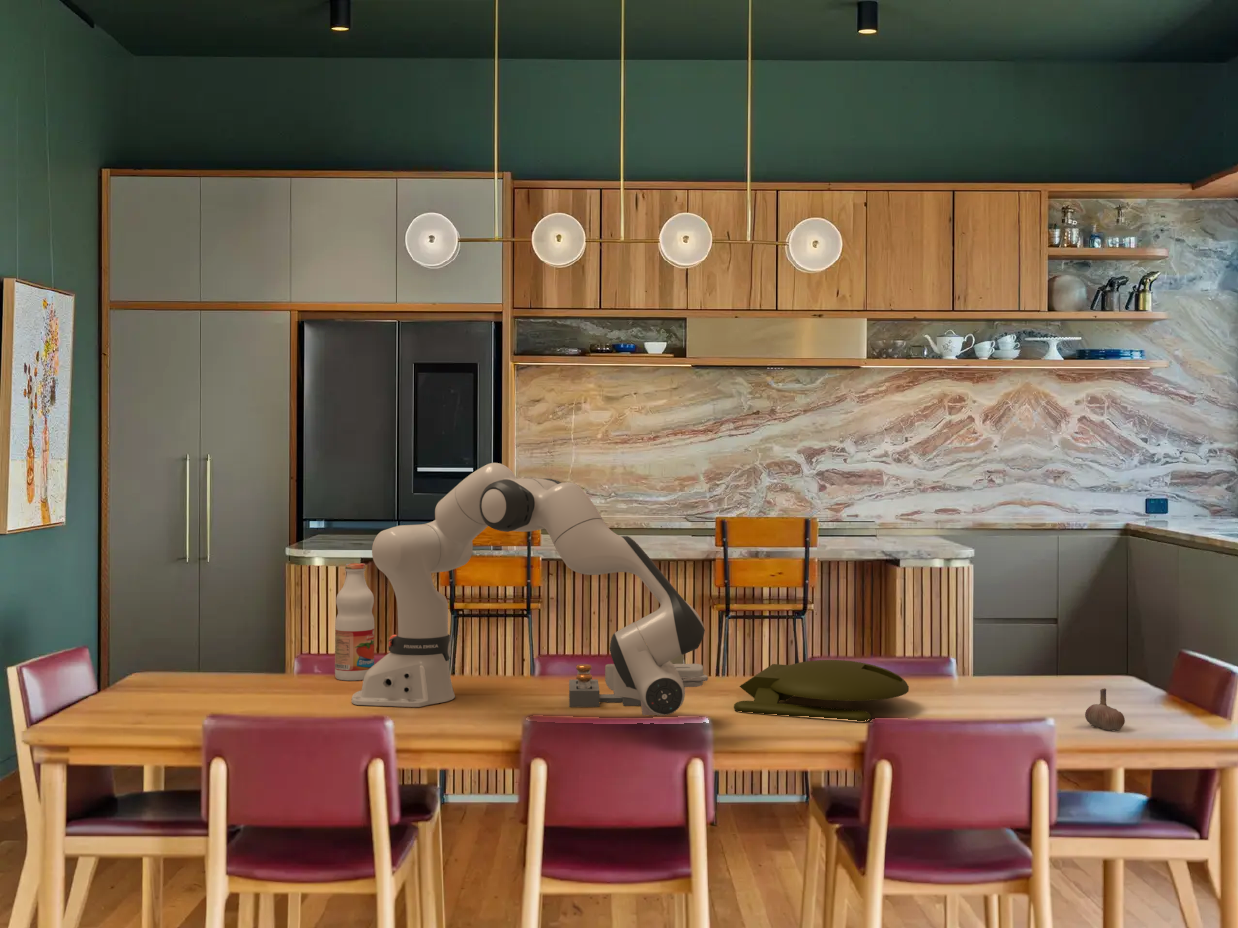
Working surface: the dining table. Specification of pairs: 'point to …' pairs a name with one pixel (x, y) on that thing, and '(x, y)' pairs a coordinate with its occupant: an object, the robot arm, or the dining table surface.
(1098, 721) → the garlic bulb
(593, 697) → the grey double well tray
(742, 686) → the spaceship
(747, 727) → the dining table surface
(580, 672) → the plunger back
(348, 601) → the fruit juice
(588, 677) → the plunger front
